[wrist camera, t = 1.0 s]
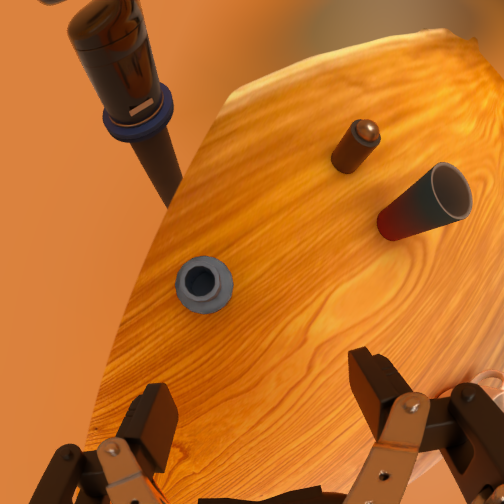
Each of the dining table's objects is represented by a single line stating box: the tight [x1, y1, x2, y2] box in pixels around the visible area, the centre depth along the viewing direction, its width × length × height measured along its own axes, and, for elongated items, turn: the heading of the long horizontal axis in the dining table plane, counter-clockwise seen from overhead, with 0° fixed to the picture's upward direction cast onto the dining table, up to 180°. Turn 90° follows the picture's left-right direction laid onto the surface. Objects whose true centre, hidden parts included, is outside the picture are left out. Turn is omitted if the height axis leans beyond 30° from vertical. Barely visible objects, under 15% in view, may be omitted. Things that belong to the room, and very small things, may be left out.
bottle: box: [175, 256, 233, 314], centre depth 30 cm, size 5×5×14 cm
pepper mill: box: [331, 119, 381, 174], centre depth 37 cm, size 4×4×10 cm
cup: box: [377, 162, 472, 241], centre depth 33 cm, size 7×7×15 cm
